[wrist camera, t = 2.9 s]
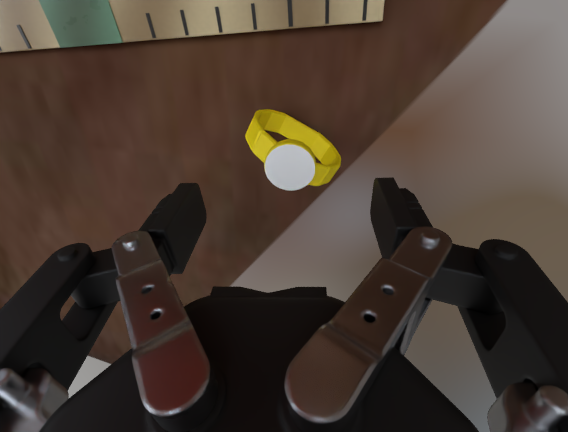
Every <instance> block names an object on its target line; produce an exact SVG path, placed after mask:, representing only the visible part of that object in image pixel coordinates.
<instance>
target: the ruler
mask: <svg viewBox="0 0 568 432" xmlns="http://www.w3.org/2000/svg"><path fill="white" fill-rule="evenodd" d="M384 1H385V0H0V53H2V52H14V51H26V50H39V49H51V48H65V47H77V46H89V45H101V44H113V43H123V42H136V41H148V40H160V39H172V38H184V37H196V36H208V35H221V34H233V33H245V32H257V31H269V30H281V29H293V28H305V27H318V26H330V25H342V24H354V23H366V22H378V21H382V20H383V11H384Z"/></svg>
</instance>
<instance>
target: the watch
mask: <svg viewBox="0 0 568 432" xmlns="http://www.w3.org/2000/svg"><path fill="white" fill-rule="evenodd" d="M265 130H268V131H272V132H278V133H279V134H281V135H283V136H285V137H287V138H288V139H286V140H282V141H279V142H277V141H276V140H275V139H274V138H272V137H271V136H270V135H269V134H268V133H267V132H266V131H265ZM245 138H246V140H247V142H248V144H249V146H250V148H251V150H252V151H253V153H254V154H255V155H256V156H257V157H258V158H259V159H260V160H261V161H262V162H264V170H265V173H266V175H267V178H268V179H269V180H270V181H271V183H272V184H274V185H275V186H276V187H278V188H280V189H283V190H290V191H294V190H298V189H301V188H303V187H305V186H307V185H312V186H320V185H323V184H326V183H328V182H329V181H330V180H331V179H332V177H333V176H334V174H335V173H336V171H337V170H338V169H339V167H340V164H341V157H340V155H339V153H338V151H337V150H336V148H335V147H334V146H333V144H332V143H331V142H330V141H328V140H327V139H326V138H325V137H324V136H323V135H322V134H320V132H317V131H315V130H313V129H311V128H310V127H308V126H306V125H304V124H303V123H301V122H299V121H297V120H296V119H294V118H292V117H290V116H289V115H287V114H285V113H283V112H279V111H275V110H272V109H271V110H270V109H265V110H258V111H256V113H255V115H254V117H253V119H252V121H251V124H250V126H249V128H248V130H247V133H246V135H245ZM314 155H315V156H316V157H317V158H318V159H319V160H320V161H321V163H322V164H320V163H316V159H315V156H314Z"/></svg>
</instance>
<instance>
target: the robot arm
mask: <svg viewBox="0 0 568 432" xmlns="http://www.w3.org/2000/svg"><path fill="white" fill-rule="evenodd" d="M370 214H371V221H372V225H373V228H374V232H375V235H376V238H377V241H378V245H379V248H380V251H381V255H382V258H381V259H380V260H379V261H378V263H377V264H376V265H375V266H374V267H373V269H372V270H371V271H370V272H369V274H368V275H367V276H366V277H365V279H364V280H363V281H362V282H361V284H360V285H359V286H358V287H357V289H356V290H355V291H354V292H353V293H352V295H351V296H350V297H349V298H348V300H347V301H346V302H343V301H341V300H339V299H336V298H333V297H329V296H327V294H326V293H327V292H326V287H295V288H290V289H286V290H280V291H276V292H270V293H266V292H261V291H256V290H252V289H247V288H243V287H213V289H212V292H211V295H210V296H206V297H203V298H200V299H198V300H195V301H193V302H191V303H189V304H188V305H186V306H185V307H184V306H183V304H182V302H181V300H180V298H179V296H178V293H177V291H176V289H175V287H174V285H173V283H172V281H171V278H170V275H171V274H182V273H183V271H184V269H185V267H186V264H187V262H188V260H189V258H190V256H191V254H192V251H193V249H194V247H195V245H196V243H197V241H198V238H199V236H200V234H201V232H202V230H203V228H204V225H205V223H206V209H205V206H204V202H203V198H202V195H201V191H200V188H199V185H198V184H197V183H180V184H179V185H178V187H177V188H176V189H175V191H174V192H173V194H169V195H168V196H166V197H165V198H163V199H162V200H161V201H160V202H159V204H158V205H157V206H156V208H155V209H154V210H153V212H152V214H150V216H149V217H148V218H147V220H146V221H145V222H144V224H143V225H142V226H141V228H140V229H139V230H138V231H133V232H130V233H127V234H125V235H123V236H121V237H120V238H118V239H117V240H116V241H115V242H114V243H113V245H112V248H110V249H105V250H101V251H97V252H92V251H91V249H90V247H89V246H88V245H87V244H85V243H75V244H71V245H68V246H65V247H63V248H61V249H59V250H58V251H56V252H55V253H53V254H52V255H51V256H50V257H49V258H48V259H47V260H46V261H45V263H44V264H43V265H42V266H41V267H40V268H39V269H38V270H37V271H36V272H35V273H34V274H33V275H32V276H31V278H30V279H29V280H28V281H27V282H26V283H25V284H24V285H23V286H22V287H21V288H20V289H19V290H18V291H17V292H16V294H15V295H14V296H13V297H12V298H11V299H10V300H9V301H8V302H7V303H6V304H5V305H4V306H3V307H2V308H1V310H0V432H479V431H478V430H477V428H476V427H475V426H474V425H473V424H472V422H471V421H470V420H469V419H468V418H467V417H466V416H465V415H464V414H463V413H462V412H461V411H460V410H459V409H458V408H457V407H456V406H455V405H454V404H453V403H452V402H450V401H449V399H448V398H447V397H446V396H445V395H444V394H442V393H441V392H440V391H439V390H438V389H437V388H436V387H435V386H434V385H433V384H432V383H431V382H430V381H429V380H428V379H427V378H426V377H425V376H424V375H423V374H422V373H421V372H420V371H419V370H418V369H417V368H416V367H415V366H414V365H413V364H412V363H411V362H410V361H409V360H408V359H406V358H405V357H404V355H405V353H406V351H407V348H408V346H409V344H410V341H411V339H412V337H413V335H414V333H415V331H416V329H417V327H418V325H419V324H420V322H421V320H422V318H423V316H424V314H425V313H426V311H427V309H428V306H429V305H430V303H431V301H432V299H433V300H437V301H441V302H445V303H448V304H452V305H456V306H458V308H459V311H460V313H461V315H462V318H463V320H464V323H465V325H466V327H467V330H468V332H469V334H470V337H471V339H472V342H473V344H474V346H475V349H476V351H477V353H478V355H479V358H480V360H481V362H482V365H483V367H484V370H485V372H486V374H487V377H488V379H489V381H490V384H491V386H492V388H493V391H494V393H495V396H496V398H497V400H496V401H495V402H494V403H493V405H492V406H491V407H490V409H489V411H488V416H487V418H488V425H489V429H490V432H568V302H567V301H566V300H565V298H564V297H563V296H562V295H561V293H560V292H559V291H558V290H557V288H556V287H555V286H554V285H553V284H552V282H551V281H550V280H549V278H548V277H547V276H546V275H545V273H544V272H543V271H542V270H541V268H540V267H539V266H538V265H537V263H536V262H535V261H534V260H533V258H532V257H531V256H530V255H529V254H528V252H527V251H525V250H524V249H523V248H521V247H520V246H518V245H516V244H514V243H511V242H508V241H504V240H497V239H493V240H492V239H491V240H486V241H484V242H483V243H482V244H481V245H480V248H479V249H475V248H469V247H464V246H459V245H456V244H453V243H452V240H451V238H450V237H449V236H448V235H447V234H446V233H444V232H443V231H441V230H439V229H436V228H433V226H432V225H431V223H430V222H429V219H428V218H427V216H426V214H425V213H424V211H423V210H422V207H421V205H420V204H419V203H418V200H417V198H416V197H415V195H414V194H413V193H411V192H410V191H409V190H407V189H406V188H404V189H403V188H401V189H399V187H398V185H397V183H396V182H395V180H394V178H376V179H375V180H374V185H373V193H372V201H371V210H370ZM70 295H71V296H72V298H73V299H74V300H75V301H76V302H75V303H74V305H73V306H72V307H71V309H70V310H69V312H68V313H67V314H66V316H65V317H64V319H63V320H62V321H61V319H60V311H61V308H62V306H63V305H64V303H65V302H66V301H67V299H68V298H69V297H70ZM118 301H121V305H122V309H123V313H124V317H125V321H126V325H127V329H128V333H129V337H130V341H131V346H132V348H131V349H130V350H129V351H128V352H126V353H125V354H124V355H123V356H121V357H120V358H119V359H118V360H116V361H115V362H114V363H113V364H111V365H110V366H109V367H108V368H106V370H104V371H103V372H102V373H100V374H99V375H98V376H97V377H95V378H94V379H93V380H91V381H90V382H89V383H88V384H87V385H85V386H84V387H83V388H82V389H80V390H79V391H78V392H76V393H75V394H74V395H73V396H71V398H69V399H68V389H69V387H70V385H71V384H72V382H73V380H74V378H75V377H76V375H77V373H78V371H79V369H80V368H81V366H82V364H83V362H84V361H85V359H86V357H87V355H88V354H89V352H90V350H91V348H92V346H93V345H94V343H95V341H96V339H97V338H98V336H99V334H100V332H101V330H102V329H103V327H104V325H105V323H106V322H107V320H108V318H109V316H110V315H111V313H112V311H113V309H114V307H115V306H116V304H117V302H118Z"/></svg>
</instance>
